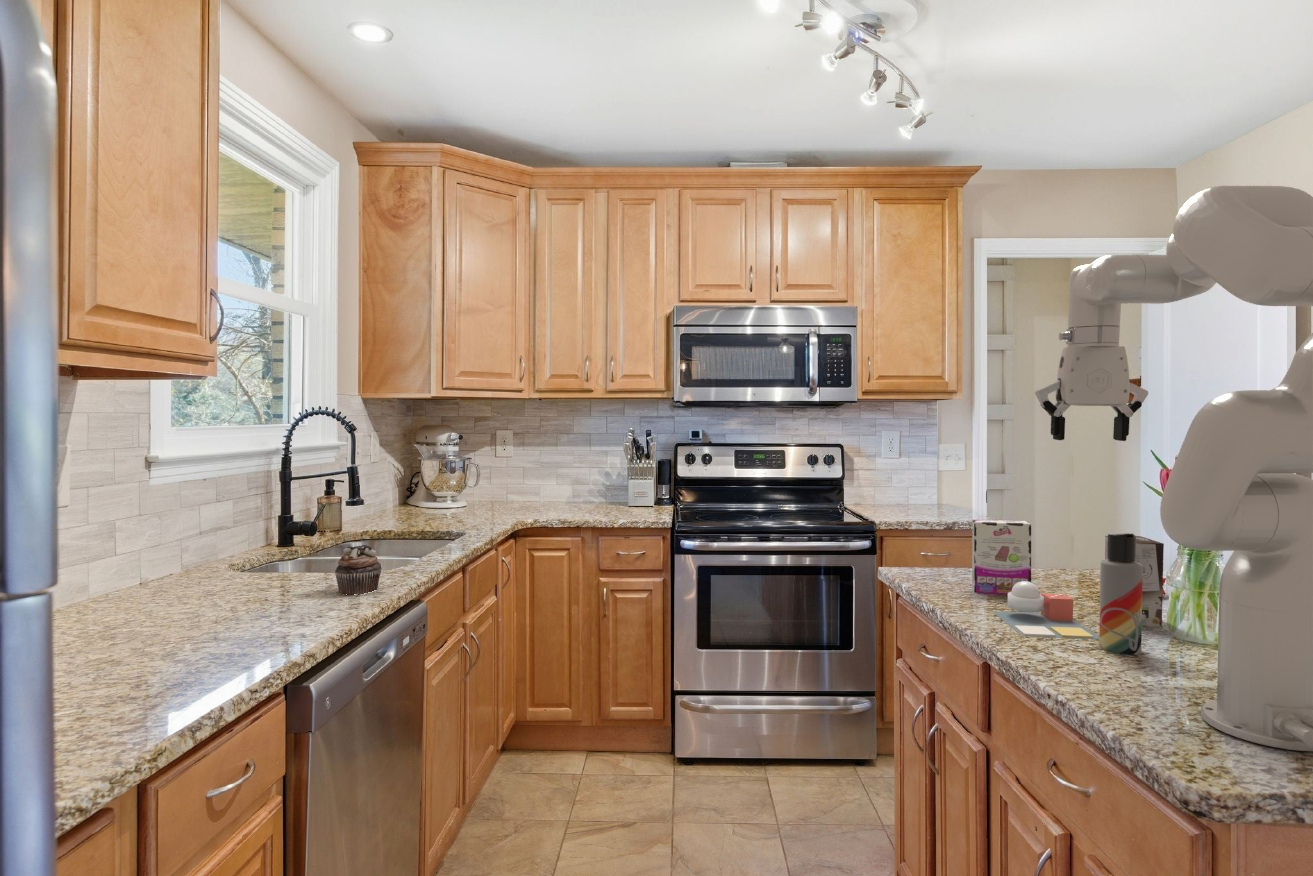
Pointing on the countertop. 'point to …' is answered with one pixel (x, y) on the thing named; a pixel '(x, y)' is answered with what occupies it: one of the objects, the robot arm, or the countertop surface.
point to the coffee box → (1149, 578)
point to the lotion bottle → (1121, 597)
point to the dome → (1025, 598)
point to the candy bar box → (1000, 555)
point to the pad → (1071, 632)
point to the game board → (1045, 618)
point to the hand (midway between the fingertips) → (1088, 440)
